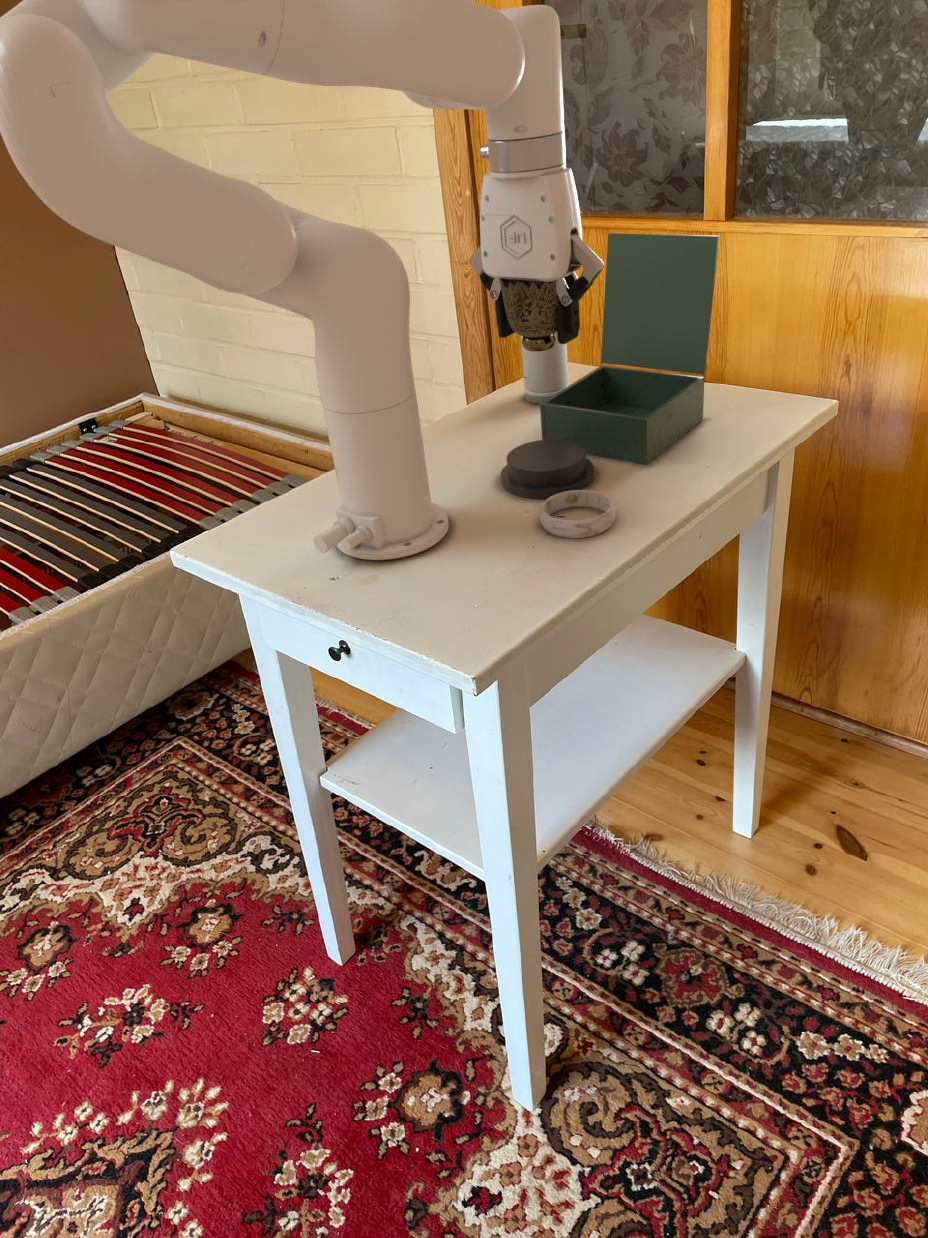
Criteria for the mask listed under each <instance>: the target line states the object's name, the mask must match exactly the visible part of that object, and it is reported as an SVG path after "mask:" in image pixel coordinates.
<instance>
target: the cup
mask: <svg viewBox="0 0 928 1238" xmlns="http://www.w3.org/2000/svg"><path fill="white" fill-rule="evenodd" d="M564 279H565V278H564ZM499 280H500V285H501V291H502V296H503V301H504V306H505V311H506V315H507V319H508V322H509V324H510V326H511V328H512V329H513V330H514V331H515V334H517V335H518V336H520V337H521V336H523V338H522V345H523V347H524V349H526V350H528V351H532V352H540V351H546V350H548V349H550V348H552V347H553V346H554V344H555V341H556V338H555V336H554V333H556V332H557V319H556V307H557V306H558V305H560V304H561V301H560V299H559V297H558V295H557V293H556V291H555V284H556V280H555V281H553V282H551V281H548V282H545V281H526V280H511V279H506V282H505V284H504V283H503V280H502V279H499ZM566 280H567V281H566ZM566 280H565V282H566V284H567V286H568V279H567V277H566Z"/></svg>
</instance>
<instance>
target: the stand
mask: <svg viewBox="0 0 928 1238" xmlns="http://www.w3.org/2000/svg"><path fill="white" fill-rule="evenodd" d="M595 476H596V475H595V465H594V463H593V462H592V461H591V460H590V459H588V458H587V454H586V451H585V449H584V448H583V447H582V446H581V445H580V444H578V443H575V442H572V441H567V440H559V439H547V440H542V439H539V440H533V441H528V442H525V443H522V444H520V445H517V446H516V447H514V448H513V449H511V450H510V451H509V452H508V453H507V455H506V464H505V466H503V467H502V469H501V471H500V475H499V477H500V484H501V486H502V488H503V489H504V491H506V492H508V493H509V494H512V495H514V496H517V497H520V498H525V499H533V500H535V499H536V500H547V499H548V498H549V497H551V496H553V495H555V494H558V493H561V492H566V491H572V490H585V489H586V488H587V487H589V486H590V485H591V484H592V483H593V481H594V479H595Z"/></svg>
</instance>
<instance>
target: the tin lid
mask: <svg viewBox="0 0 928 1238" xmlns="http://www.w3.org/2000/svg"><path fill="white" fill-rule="evenodd" d="M719 245H720V235H701V234H699V235H698V234H697V235H696V234H661V233H660V234H659V233H626V232H625V233H623V232H622V233H621V232H608V233H607V245H606V262H605V263H606V265H605V281H604V283H605V284H604V300H603V314H602V315H603V317H602V332H601V333H602V334H601V335H602V337H601V351H600V353H601V354H600V363H601V364H608V365H609V364H610V365H615V366H616V365H618V366H624V367H625V366H626V367H633V368H635V367H636V368H644V369H650V370H651V369H652V370H660V371H671V372H678V373H686V374H696V375H706V371H707V362H708V353H709V352H708V351H709V342H710V333H711V323H712V313H713V303H714V293H715V286H716V285H715V282H716V274H717V266H718V265H717V264H718V255H719Z"/></svg>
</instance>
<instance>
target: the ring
mask: <svg viewBox="0 0 928 1238" xmlns="http://www.w3.org/2000/svg"><path fill="white" fill-rule="evenodd" d="M544 500H545V501H543V502H542V504H541V506H540V509H539V514H538V515H539V516H538V517H539V522H540V524H541V525H542V527H543V529H544V530H545V531H547V532H548V533H550V534H551V535H554V536H557V537H560V538H566V539H567V538H569V539H579V538H587V537H592V536H596V535H599V534H601V533H603V532H605V531H606V530H608V529H609V528H610V527H611V526H612V525H613V523H614V521H615V519H616V515H617V514H616V513H617V511H616V510H617V509H616V505H615V503H614V501H613V500H612V498H610V496H608V495H607V494H605V493H602V492H600V491H596V490H590V489H582V490H572V491H566V492H561V493H558V494H555V495H553V496H551V497H549V498H547V499H544ZM577 507H583V508H585V507H587V508H594V509H598V510H601V511H604V512H603V513H601V514H600V515H597V516H595V517H591V518H586V519H578V520H576V519H575V520H573V519H572V520H571V519H570V520H568V519H560V518H556V517H553V516H551V515H552V514H554V513H556V512H558V511H562V510H564V509H569V508H577Z"/></svg>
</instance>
